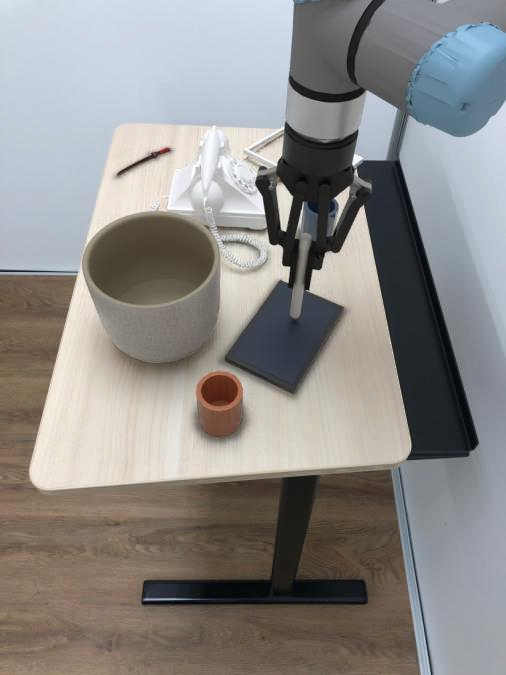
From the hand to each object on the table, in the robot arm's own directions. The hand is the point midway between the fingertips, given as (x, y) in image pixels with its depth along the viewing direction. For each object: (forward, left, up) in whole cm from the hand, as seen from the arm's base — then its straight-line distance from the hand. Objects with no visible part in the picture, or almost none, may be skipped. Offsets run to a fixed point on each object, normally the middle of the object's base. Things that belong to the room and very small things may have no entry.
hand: (299, 281), depth 73 cm
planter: (+16, +11, -10) cm, 21 cm away
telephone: (+23, -13, -9) cm, 28 cm away
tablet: (0, +2, -9) cm, 10 cm away
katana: (+45, -20, -9) cm, 50 cm away
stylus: (0, 0, -8) cm, 8 cm away
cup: (+1, +19, -9) cm, 21 cm away
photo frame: (+7, -35, -8) cm, 37 cm away
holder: (+5, -19, -9) cm, 22 cm away
